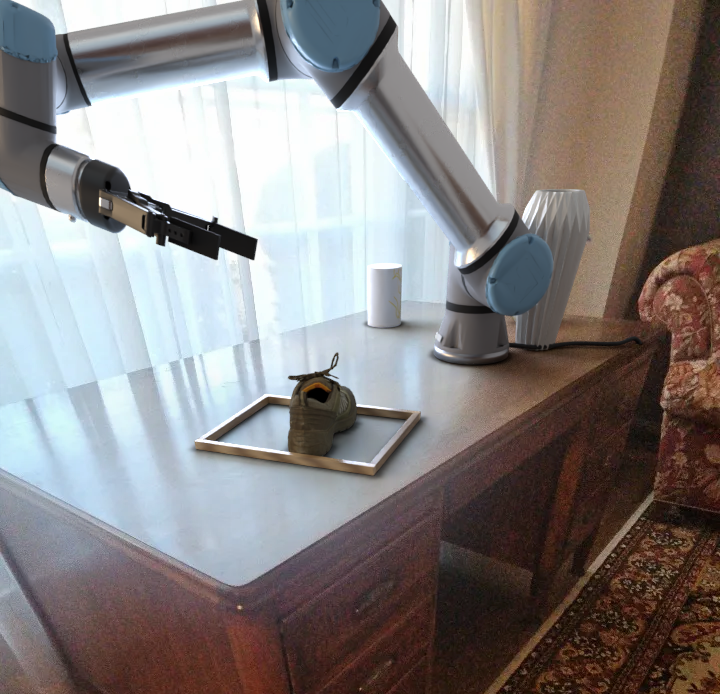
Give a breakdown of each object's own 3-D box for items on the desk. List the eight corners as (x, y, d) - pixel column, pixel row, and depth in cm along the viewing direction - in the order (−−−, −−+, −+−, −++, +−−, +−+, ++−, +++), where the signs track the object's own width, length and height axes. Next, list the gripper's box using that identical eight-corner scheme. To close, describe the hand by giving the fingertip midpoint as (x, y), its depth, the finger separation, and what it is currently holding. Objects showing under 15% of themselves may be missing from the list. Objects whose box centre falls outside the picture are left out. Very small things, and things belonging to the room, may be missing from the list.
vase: (577, 351, 119) (612, 191, 102) (517, 356, 117) (542, 193, 100) (549, 335, 129) (576, 187, 112) (493, 340, 127) (512, 189, 110)
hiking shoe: (363, 413, 94) (361, 332, 86) (329, 463, 80) (323, 371, 72) (313, 409, 96) (308, 330, 88) (271, 458, 81) (260, 368, 73)
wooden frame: (420, 418, 92) (421, 411, 91) (373, 475, 76) (373, 467, 76) (266, 400, 100) (265, 393, 99) (195, 449, 84) (194, 441, 83)
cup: (398, 328, 137) (399, 269, 129) (364, 327, 138) (364, 268, 130) (402, 320, 143) (404, 263, 135) (371, 319, 144) (370, 262, 136)
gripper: (137, 228, 90) (263, 277, 90) (32, 219, 70) (195, 282, 70) (141, 170, 86) (273, 221, 86) (30, 141, 65) (203, 209, 66)
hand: (238, 249), depth 78 cm, fingers open, 13 cm apart
